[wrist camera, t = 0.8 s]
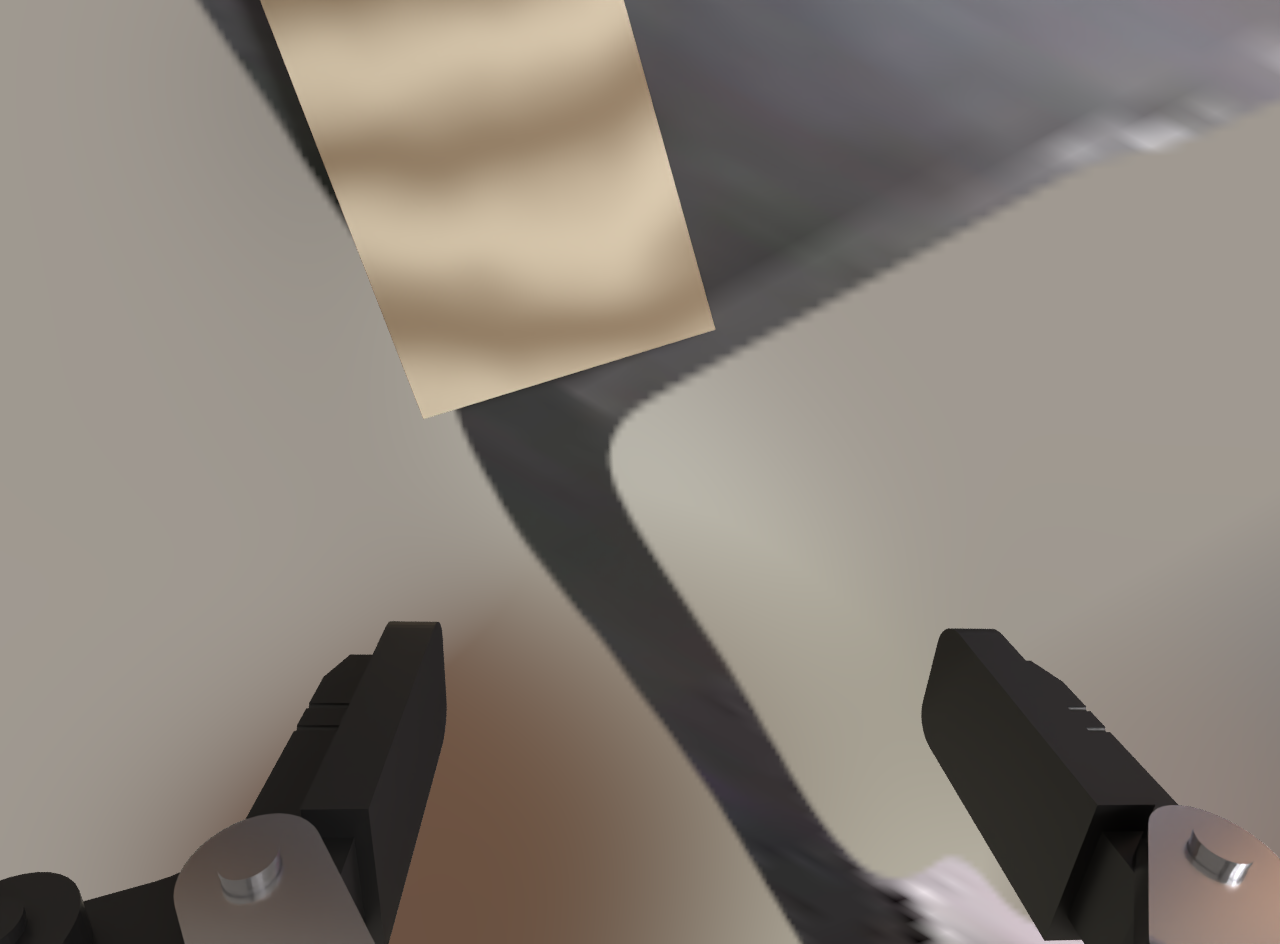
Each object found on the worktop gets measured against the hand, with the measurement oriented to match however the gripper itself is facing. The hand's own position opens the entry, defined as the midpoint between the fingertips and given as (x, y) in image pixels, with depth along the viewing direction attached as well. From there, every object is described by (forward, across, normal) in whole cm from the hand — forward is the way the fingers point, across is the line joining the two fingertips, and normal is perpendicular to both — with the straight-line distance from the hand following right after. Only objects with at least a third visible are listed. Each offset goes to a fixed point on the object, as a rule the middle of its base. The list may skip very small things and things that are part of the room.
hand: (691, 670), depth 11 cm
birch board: (+23, +6, -9) cm, 25 cm away
